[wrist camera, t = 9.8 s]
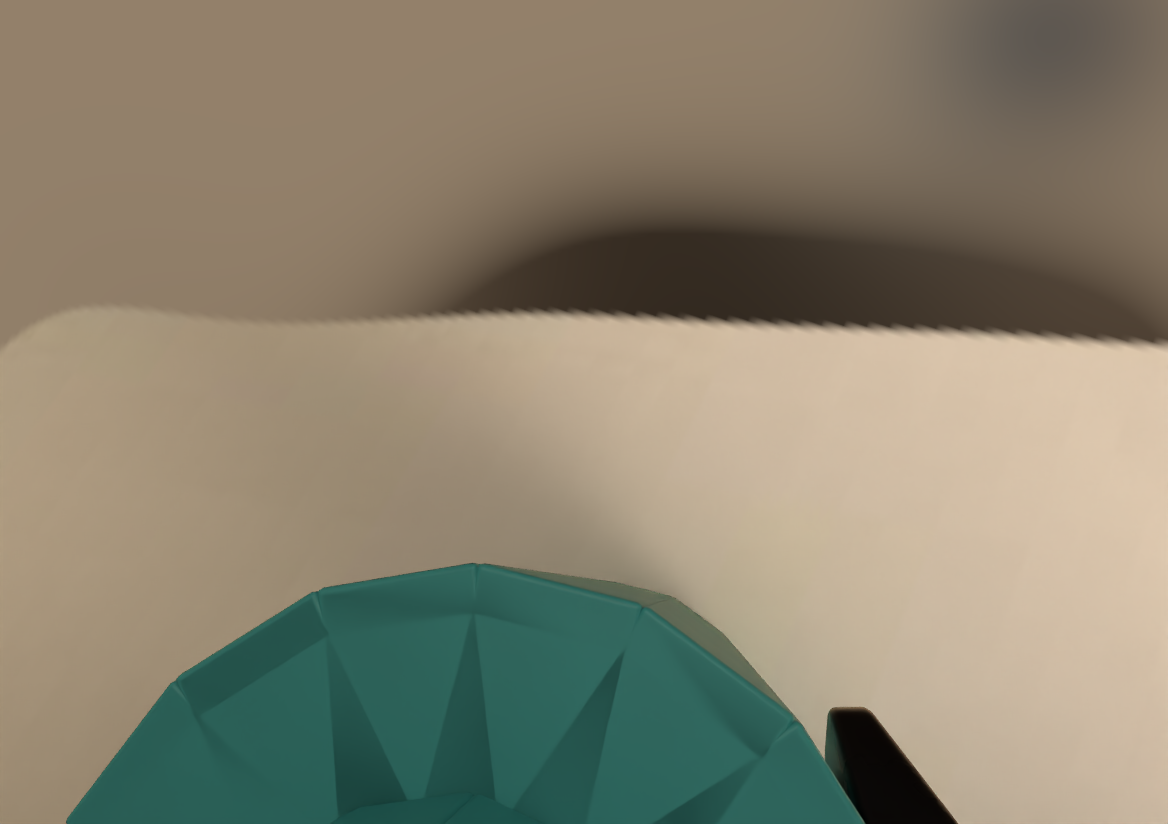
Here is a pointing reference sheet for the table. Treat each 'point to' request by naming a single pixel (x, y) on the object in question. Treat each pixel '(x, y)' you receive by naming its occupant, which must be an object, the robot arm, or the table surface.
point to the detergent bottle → (471, 716)
